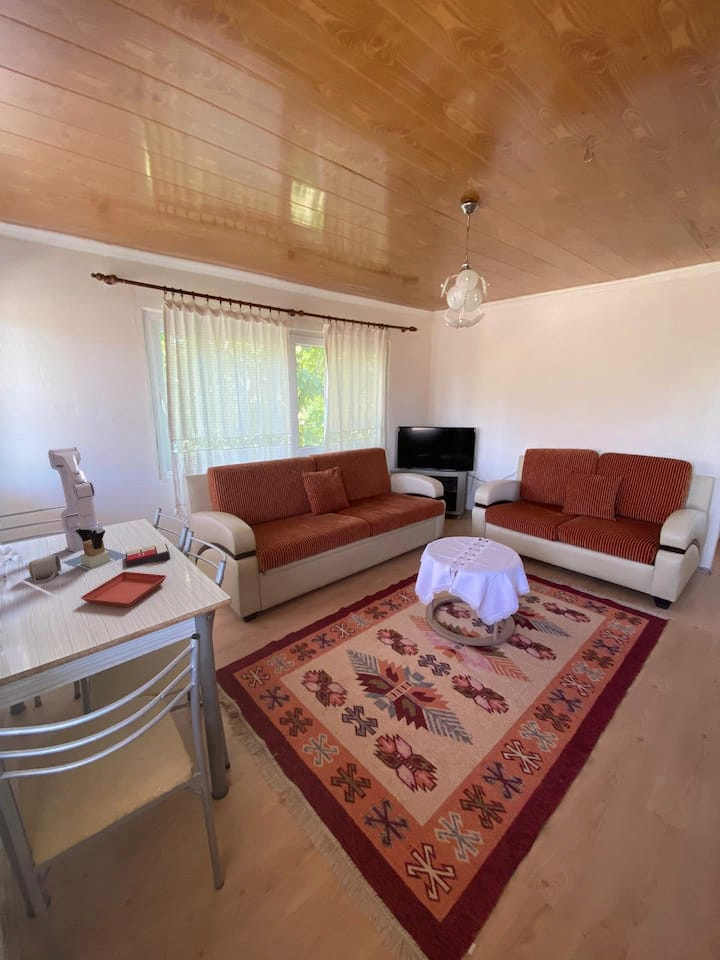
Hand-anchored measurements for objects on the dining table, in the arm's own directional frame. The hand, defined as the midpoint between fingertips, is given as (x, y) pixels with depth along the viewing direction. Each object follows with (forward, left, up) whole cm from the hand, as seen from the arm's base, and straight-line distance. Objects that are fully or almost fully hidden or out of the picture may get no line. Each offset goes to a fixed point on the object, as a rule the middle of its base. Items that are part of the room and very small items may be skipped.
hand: (93, 547), depth 150 cm
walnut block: (0, 0, -3) cm, 3 cm away
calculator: (+14, +12, -8) cm, 20 cm away
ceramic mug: (-4, -15, -8) cm, 17 cm away
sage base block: (0, 0, -7) cm, 7 cm away
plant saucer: (+34, -8, -8) cm, 36 cm away
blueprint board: (-4, +2, -7) cm, 8 cm away
